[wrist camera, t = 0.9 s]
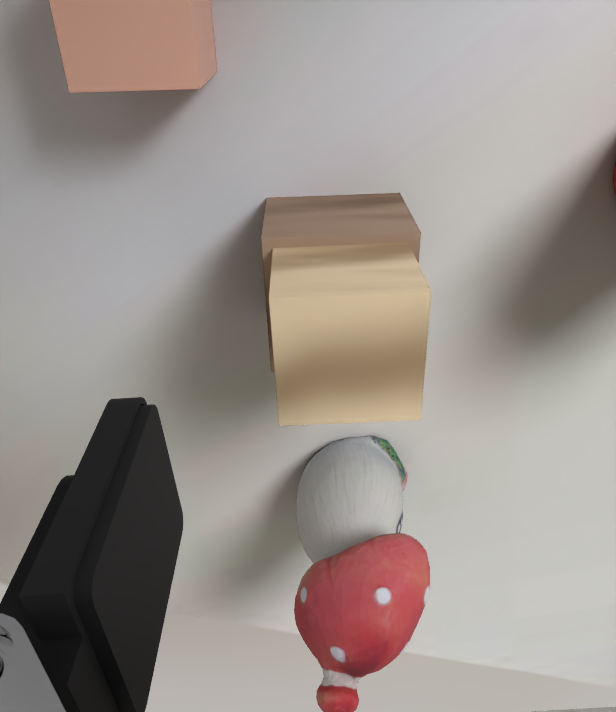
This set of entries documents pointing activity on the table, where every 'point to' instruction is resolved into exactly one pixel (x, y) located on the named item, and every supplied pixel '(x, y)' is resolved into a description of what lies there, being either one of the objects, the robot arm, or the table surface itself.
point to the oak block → (348, 333)
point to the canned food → (615, 178)
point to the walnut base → (333, 227)
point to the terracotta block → (135, 44)
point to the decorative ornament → (356, 565)
